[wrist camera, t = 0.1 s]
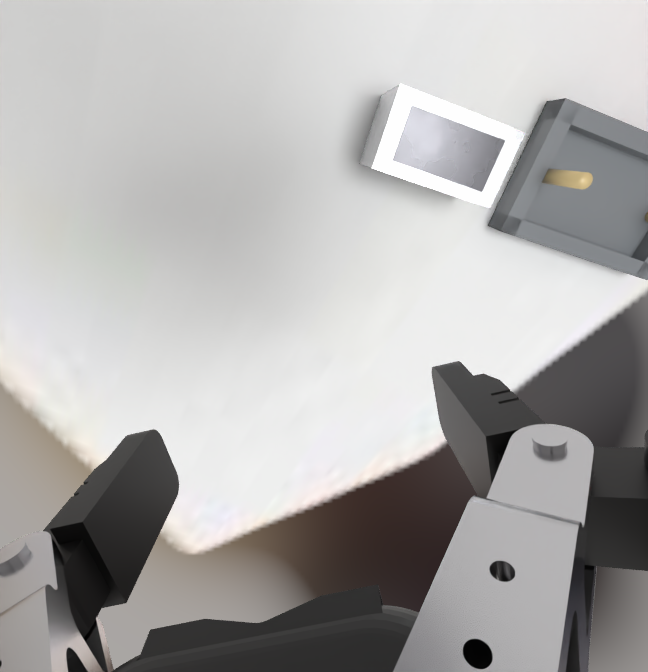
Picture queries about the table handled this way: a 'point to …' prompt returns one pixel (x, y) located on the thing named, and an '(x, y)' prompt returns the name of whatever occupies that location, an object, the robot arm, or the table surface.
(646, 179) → the tray
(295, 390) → the table surface
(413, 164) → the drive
